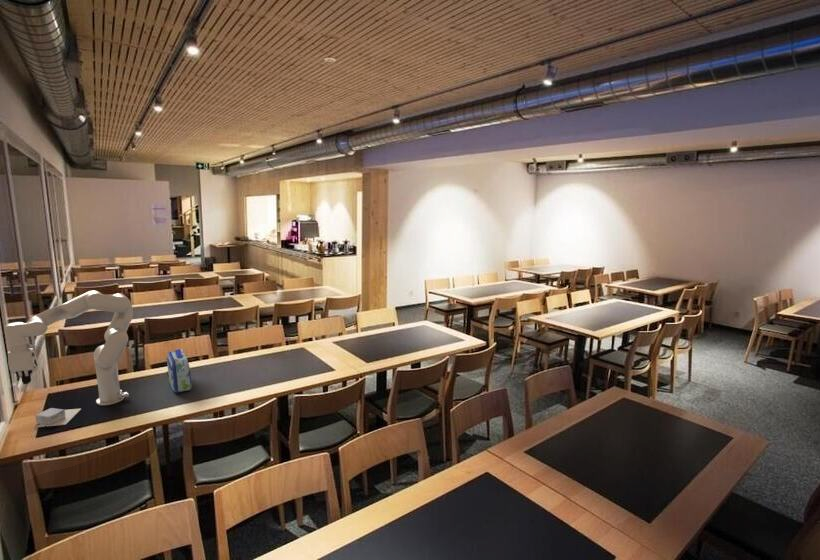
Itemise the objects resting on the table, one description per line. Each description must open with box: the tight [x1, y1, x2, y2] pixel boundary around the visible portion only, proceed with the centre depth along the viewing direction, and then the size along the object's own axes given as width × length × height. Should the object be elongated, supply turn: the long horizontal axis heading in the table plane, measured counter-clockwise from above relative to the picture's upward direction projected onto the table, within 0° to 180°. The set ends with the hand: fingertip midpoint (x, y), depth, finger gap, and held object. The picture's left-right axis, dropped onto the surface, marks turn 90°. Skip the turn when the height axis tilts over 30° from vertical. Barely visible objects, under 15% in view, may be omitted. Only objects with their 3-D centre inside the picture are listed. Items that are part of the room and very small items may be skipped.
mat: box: [36, 408, 82, 428], centre depth 217 cm, size 12×16×1 cm
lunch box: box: [166, 348, 193, 394], centre depth 253 cm, size 26×11×21 cm, turn 35°
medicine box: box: [34, 407, 66, 425], centre depth 213 cm, size 8×4×9 cm
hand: (27, 382), depth 210 cm, fingers closed
